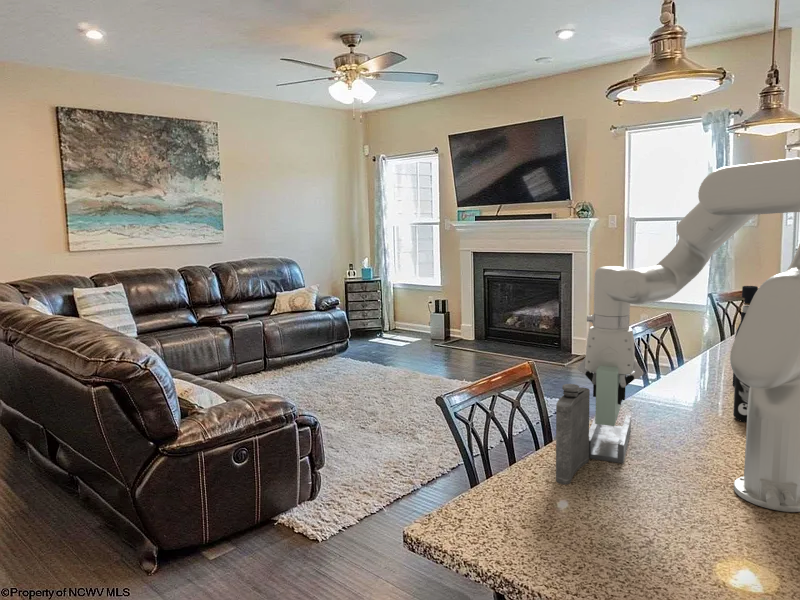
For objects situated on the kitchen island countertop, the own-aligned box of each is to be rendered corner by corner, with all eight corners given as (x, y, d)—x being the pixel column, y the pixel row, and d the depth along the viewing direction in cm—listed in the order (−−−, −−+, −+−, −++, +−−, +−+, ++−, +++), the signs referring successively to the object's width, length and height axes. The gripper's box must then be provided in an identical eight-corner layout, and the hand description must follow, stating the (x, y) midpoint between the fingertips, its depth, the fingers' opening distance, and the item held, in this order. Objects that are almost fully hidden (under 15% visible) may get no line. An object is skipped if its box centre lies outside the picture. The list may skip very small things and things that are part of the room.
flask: (549, 481, 114) (550, 393, 111) (573, 456, 125) (574, 375, 123) (567, 485, 112) (568, 396, 109) (590, 459, 123) (591, 378, 121)
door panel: (614, 426, 124) (616, 372, 122) (595, 423, 126) (596, 370, 124) (620, 406, 136) (622, 357, 135) (602, 404, 138) (604, 355, 136)
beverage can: (768, 424, 140) (771, 376, 139) (738, 423, 142) (741, 376, 140) (757, 415, 147) (759, 369, 145) (729, 414, 148) (731, 369, 147)
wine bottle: (762, 387, 170) (768, 286, 166) (747, 390, 168) (752, 288, 164) (742, 382, 176) (747, 284, 172) (727, 384, 174) (732, 286, 170)
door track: (623, 463, 121) (623, 445, 120) (584, 457, 124) (584, 440, 124) (630, 431, 139) (631, 415, 138) (596, 427, 142) (596, 411, 142)
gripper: (569, 322, 128) (568, 402, 131) (651, 327, 121) (648, 411, 123) (575, 317, 135) (573, 392, 137) (653, 321, 128) (649, 401, 130)
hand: (608, 400), depth 130 cm, fingers closed on door panel, 4 cm apart
